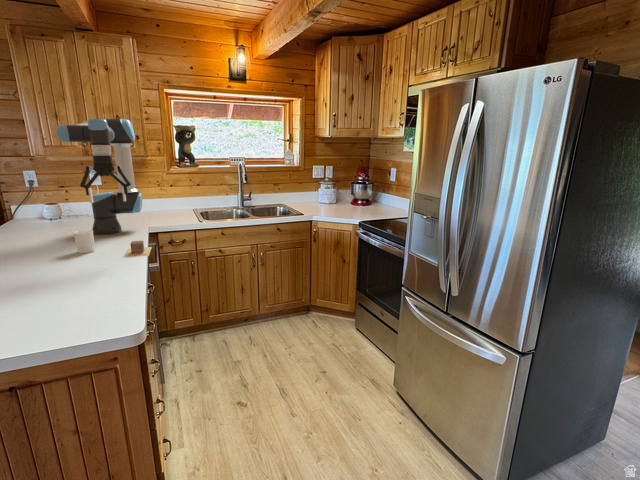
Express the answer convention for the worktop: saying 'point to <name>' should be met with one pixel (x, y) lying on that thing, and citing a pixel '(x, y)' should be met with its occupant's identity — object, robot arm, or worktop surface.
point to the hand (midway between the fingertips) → (108, 201)
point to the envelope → (145, 253)
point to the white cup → (84, 241)
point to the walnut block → (137, 247)
